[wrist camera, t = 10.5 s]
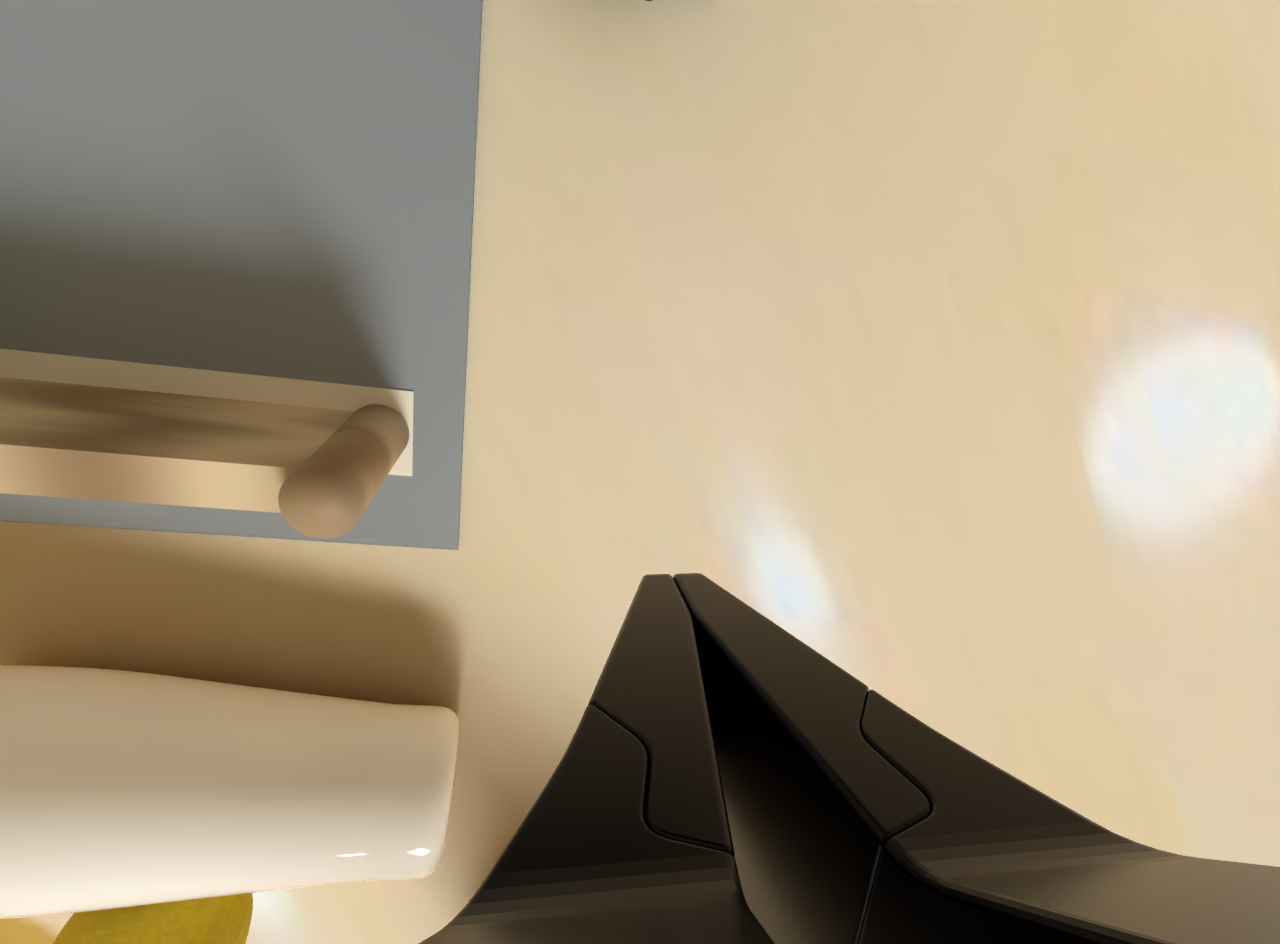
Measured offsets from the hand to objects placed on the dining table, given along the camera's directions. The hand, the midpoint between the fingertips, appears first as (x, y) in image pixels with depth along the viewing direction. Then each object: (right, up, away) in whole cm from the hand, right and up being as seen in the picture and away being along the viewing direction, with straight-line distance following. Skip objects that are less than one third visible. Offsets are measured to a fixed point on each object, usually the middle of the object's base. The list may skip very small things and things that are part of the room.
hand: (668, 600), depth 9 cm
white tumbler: (-7, -9, +13) cm, 17 cm away
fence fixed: (-15, +4, +10) cm, 18 cm away
